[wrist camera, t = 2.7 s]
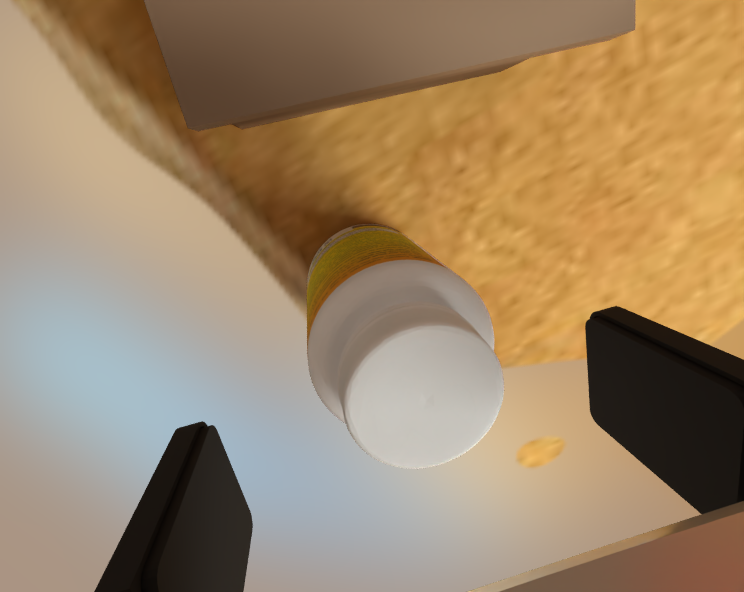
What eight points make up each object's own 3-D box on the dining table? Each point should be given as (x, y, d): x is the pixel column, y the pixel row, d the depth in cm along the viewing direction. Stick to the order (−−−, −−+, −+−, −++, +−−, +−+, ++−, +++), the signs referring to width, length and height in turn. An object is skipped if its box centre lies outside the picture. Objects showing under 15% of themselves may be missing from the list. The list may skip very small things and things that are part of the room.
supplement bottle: (281, 287, 19) (253, 421, 9) (362, 195, 18) (427, 234, 8) (370, 356, 20) (426, 530, 11) (447, 275, 20) (581, 382, 10)
